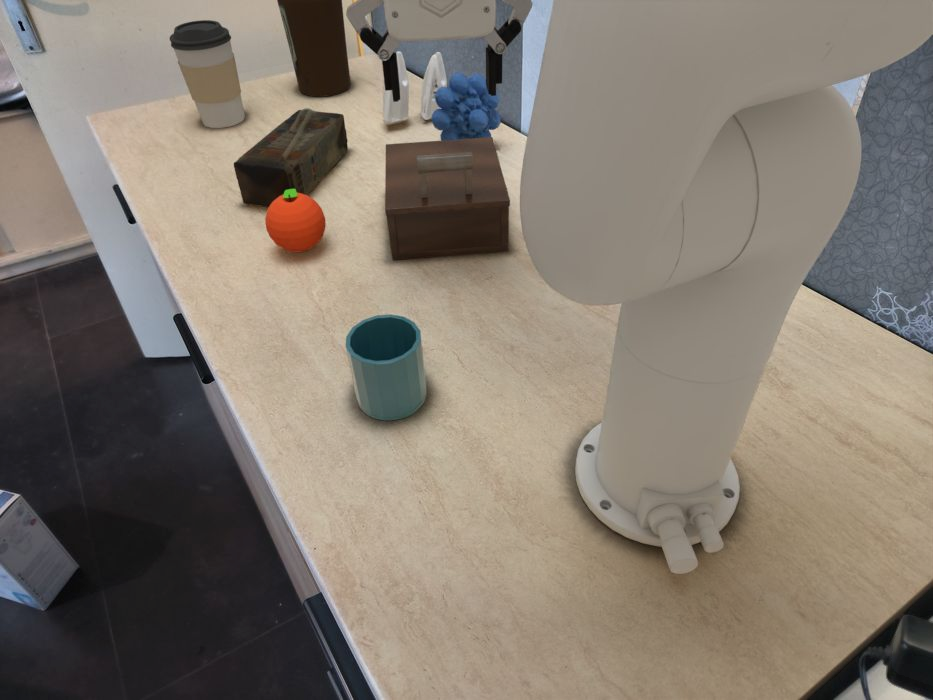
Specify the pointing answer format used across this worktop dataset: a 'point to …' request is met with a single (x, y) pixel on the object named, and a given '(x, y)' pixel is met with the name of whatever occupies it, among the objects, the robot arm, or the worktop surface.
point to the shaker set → (399, 110)
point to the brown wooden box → (449, 233)
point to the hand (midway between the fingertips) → (444, 93)
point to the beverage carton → (291, 156)
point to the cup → (387, 366)
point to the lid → (443, 176)
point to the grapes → (465, 108)
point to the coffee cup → (209, 71)
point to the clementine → (295, 221)
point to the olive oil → (317, 45)
